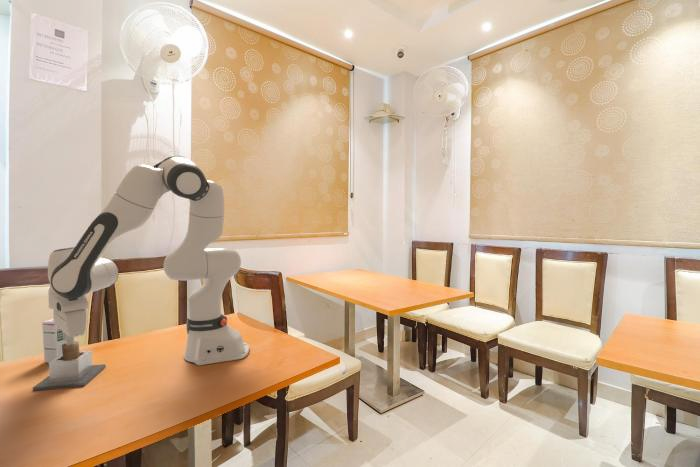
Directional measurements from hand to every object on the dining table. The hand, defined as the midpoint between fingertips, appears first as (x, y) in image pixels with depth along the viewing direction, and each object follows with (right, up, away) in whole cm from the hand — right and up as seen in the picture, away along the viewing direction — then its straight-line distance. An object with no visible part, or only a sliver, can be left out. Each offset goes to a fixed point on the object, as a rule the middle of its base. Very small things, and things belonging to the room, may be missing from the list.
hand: (68, 344), depth 105 cm
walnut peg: (+1, -10, +1) cm, 10 cm away
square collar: (0, -11, +1) cm, 11 cm away
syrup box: (-15, -10, +14) cm, 23 cm away
